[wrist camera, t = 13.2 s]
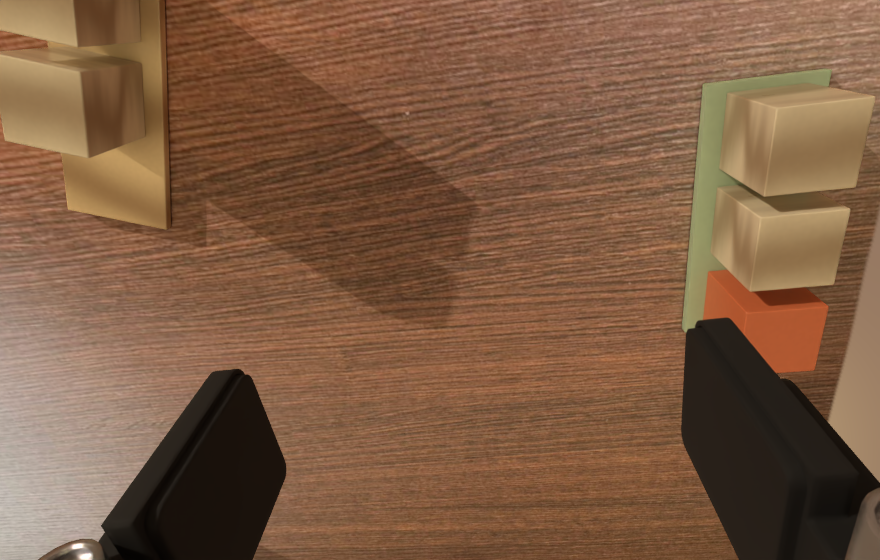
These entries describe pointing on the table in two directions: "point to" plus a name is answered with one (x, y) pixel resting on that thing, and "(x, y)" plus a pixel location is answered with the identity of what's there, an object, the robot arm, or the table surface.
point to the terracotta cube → (770, 320)
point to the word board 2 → (772, 182)
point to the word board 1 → (137, 160)
